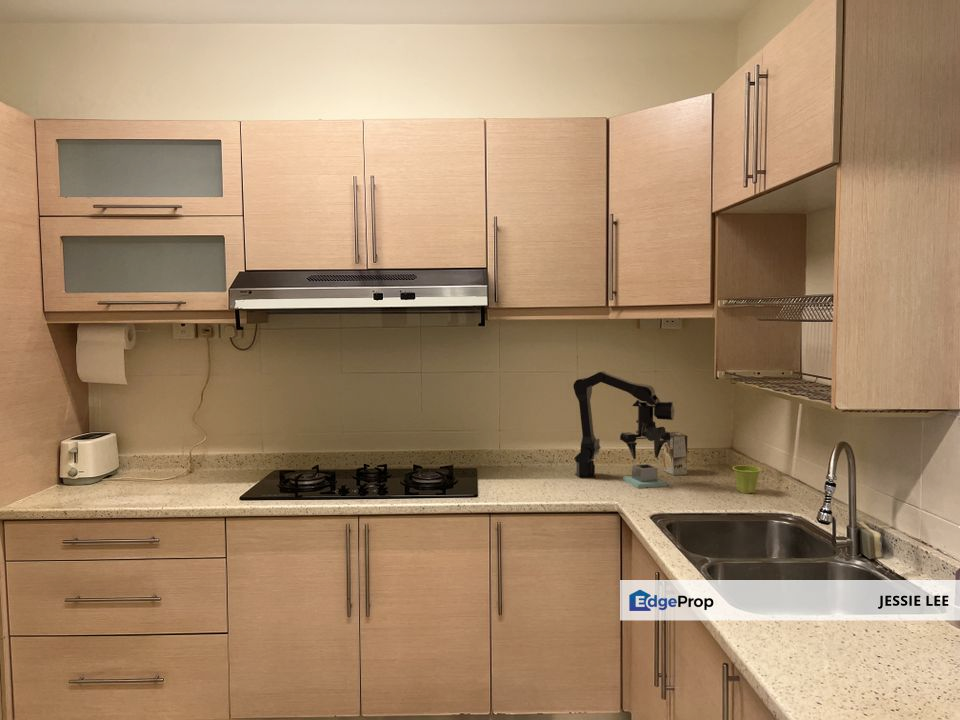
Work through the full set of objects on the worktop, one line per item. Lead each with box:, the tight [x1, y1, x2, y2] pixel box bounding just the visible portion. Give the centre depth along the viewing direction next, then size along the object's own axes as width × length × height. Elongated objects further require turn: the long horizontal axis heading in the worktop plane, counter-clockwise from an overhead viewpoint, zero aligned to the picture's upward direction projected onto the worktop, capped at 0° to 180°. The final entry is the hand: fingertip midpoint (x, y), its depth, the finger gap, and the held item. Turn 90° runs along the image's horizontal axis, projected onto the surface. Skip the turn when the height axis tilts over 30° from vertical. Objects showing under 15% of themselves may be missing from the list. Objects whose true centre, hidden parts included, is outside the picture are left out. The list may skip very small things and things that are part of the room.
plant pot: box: [732, 464, 762, 495], centre depth 228 cm, size 9×9×9 cm
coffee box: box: [663, 431, 688, 476], centre depth 256 cm, size 9×6×16 cm
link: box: [631, 463, 659, 482], centre depth 240 cm, size 7×7×5 cm
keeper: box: [623, 475, 668, 489], centre depth 241 cm, size 12×12×6 cm
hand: (645, 458), depth 240 cm, fingers open, 9 cm apart
